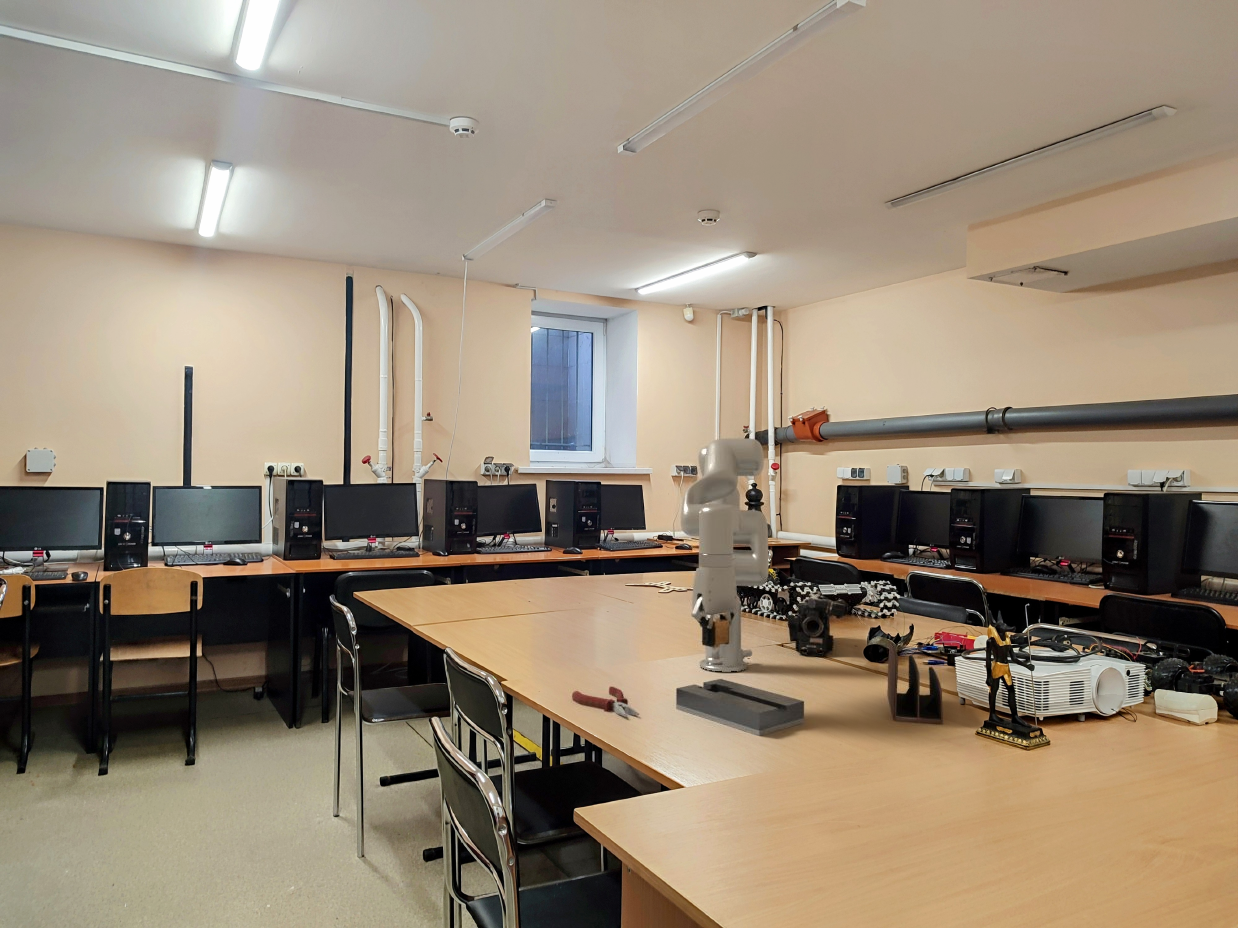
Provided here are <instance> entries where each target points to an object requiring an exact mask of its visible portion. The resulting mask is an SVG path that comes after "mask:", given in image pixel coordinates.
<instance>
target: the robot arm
mask: <svg viewBox="0 0 1238 928" xmlns="http://www.w3.org/2000/svg"><path fill="white" fill-rule="evenodd" d="M764 456H765V455H764V448H763V447H762V444H761V443H760V441H758V440H757V439H754V438H718V439H715V440H712V441H711V442H709V443H708V445H706V446H704V447H702V448H701V449H700V450H699V452H698V459H697V460H698V465H699V470H700V473H701V474H700V475H701V476H702V477H700V478H699V479H697V480H695V482H693V483H692V484H691V485H690V486H689V487H688V488H687V490H686V491H685V492H684V494H683V497H682V503H681V510H680V511H681V512H680V527H681V530H682V532H683V534H685V535H686V536H689V537H698V567H697V568H696V570H695V574H694V578H693V587H692V588H693V589H692V602H691V603H692V604H691V605H692V606H691V608H692V612H691V614H690V615H691V617H692V618H693V619H695V620H696V621H697V622H698V625H699V627H700V628H701V629H702V630H701V644H702V646H705V659H702V660H700V662H699V667H700V668H701V667H702V668H701V669H703V668H704V669H703V670H705V669H707V670H706V671H709V670H712V671H711V672H715V671H722V672H721V673H732V672H731V671H737V672H742V671H744V669H745V670H746V669H747V667H748V665H747V662H746V661H744V659H745V658H748V657H752V656H753V651H752V650H751V649H749V648H748V649H742V604H741V603H742V602H741V599H740V597H739V595H738V592H737V591H738V590H737V586H739V587H740V586H741V587H742V586H743V587H760V586H763V585H765V584H766V583H767V581H768V577H769V530H768V521H767V518H766V515H765V514H764V513H763V512H761V511H760V510H755V509H754V510H750V509H747V510H746V509H741V508H740V507H741V506H740V505H741V504H740V503H741V502H740V500H741V495H740V493H741V492H740V490H739V489H738V483H739V478H738V477H757V476H759V475H761V473H762V471H763V469H764V465H765V457H764ZM734 546H748V547H750V549H751V550H745V549H744V550H743V549H741V550H739V549H734ZM713 618H718V619H724V620H729V643H726V644H720V656H721V657H724V658H725V664H723V665H710V664H707V663H706V657H708V656H711V654H712V647H714V628H712V625H713ZM707 619H708V620H707ZM741 670H742V671H741Z"/></svg>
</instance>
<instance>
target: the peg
mask: <svg viewBox="0 0 1238 928" xmlns="http://www.w3.org/2000/svg"><path fill="white" fill-rule="evenodd" d="M707 620H708V619H707ZM712 628H714V647H712V654H711V656H708V657H706V656H705V659H706V663H707V664H710V665H723V664H725V658H724V657H721V656H720V644H726V643H729V620H724V619H718V618H713V625H712Z"/></svg>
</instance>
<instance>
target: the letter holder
mask: <svg viewBox="0 0 1238 928" xmlns="http://www.w3.org/2000/svg"><path fill="white" fill-rule="evenodd" d="M888 643H889V644H888V645H889V646H888V648H889V651H888V664H887V665H888V666H887V667H888V668H887V690H886V691H887V692H886V693H887V694H886V695H887V699H888V703H889V707H890V711H891V716H892V720H893V721H894V722H901V723H902V722H903V723H905V722H906V723H914V724H915V723H916V724H917V723H918V724H929V725H941V726H942V725H943V724H944V715H943V713H944V712H943V711H944V710H943V689H942V685H941V682H940V679H939V676H938V674H937V673H936V671H935V669H934V667H932V666H929V667H928V676H929V677H928V681H929V686H928V687H929V694H920V693H921V692H920V688H921V687H920V686H921V682H920V679H921V678H920V671H919V668H918V664H917V662H916V659H915V658H914V656H913V655H911V654H910V655H908V689H907V691H905V693H904V692H903V693H902V692H898V678H899V677H898V676H899V675H898V674H899V673H898V672H899V656H898V652H897V649H896V645H895V644H894V642H893V641H890V642H888Z"/></svg>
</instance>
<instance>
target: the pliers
mask: <svg viewBox="0 0 1238 928" xmlns="http://www.w3.org/2000/svg"><path fill="white" fill-rule="evenodd" d="M608 694H609V695H610V696H612V697H614V698H616V700H614V699H612V698H610V699H608V698H605V697H597V696H592V695H587V694H583V693H581V692H580V691H578V690H575V691H573V692H572V694H571V698H572V701H574V702H575V703H576V704H579V705H581V706H587V707H591V708H594V709H595V708H596V709H601V710H602V709H603V711H604V712H609V711H611V712H614V713H615V714H617V715H619V716H622V717H625V718H628V715H630V716H631V715H632V716H640V713H639V712H638V711H636V710H635V709H633V708H632V707H631V706H630V705H629V704H628V702H629V701H628V699H627V698H626V697H625V696H624V692H623V691H622V690H621V689H619V688H618V687H615V686H609V687H608ZM624 697H625V698H624Z"/></svg>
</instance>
